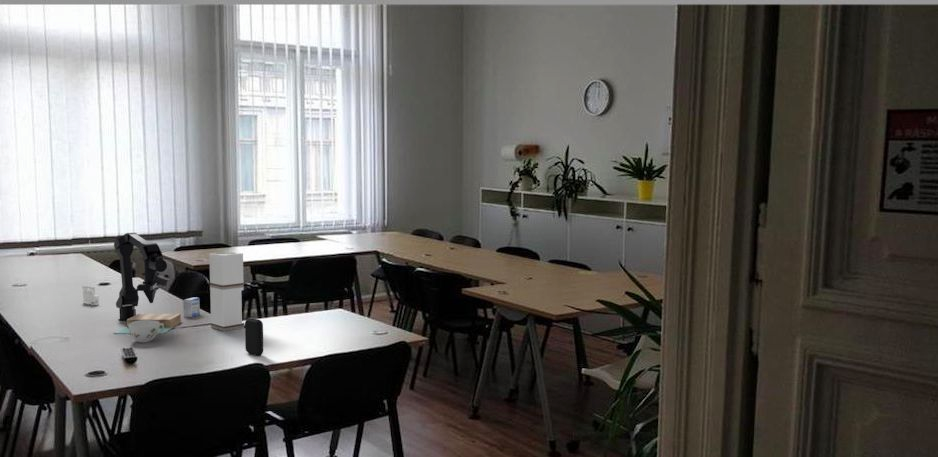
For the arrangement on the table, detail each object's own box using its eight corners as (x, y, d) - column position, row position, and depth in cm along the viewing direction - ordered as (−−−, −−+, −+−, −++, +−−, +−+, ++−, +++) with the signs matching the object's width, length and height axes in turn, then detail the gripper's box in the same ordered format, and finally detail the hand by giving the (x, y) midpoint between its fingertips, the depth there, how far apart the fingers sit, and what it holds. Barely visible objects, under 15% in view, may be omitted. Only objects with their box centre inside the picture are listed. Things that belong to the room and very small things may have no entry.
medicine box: (191, 317, 393) (191, 300, 393) (183, 316, 394) (182, 299, 393) (199, 314, 401) (199, 297, 400) (191, 313, 402) (191, 297, 401)
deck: (127, 328, 367) (126, 319, 367) (139, 321, 381) (138, 313, 381) (170, 328, 368) (170, 319, 367) (180, 322, 382) (180, 313, 381)
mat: (113, 333, 355) (113, 333, 355) (124, 328, 367) (124, 327, 367) (162, 333, 356) (162, 333, 356) (172, 328, 368) (172, 327, 368)
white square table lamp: (244, 327, 370) (242, 253, 367) (223, 331, 362) (222, 255, 359) (231, 324, 378) (230, 251, 375) (211, 327, 370) (209, 253, 367)
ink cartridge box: (87, 303, 430) (86, 285, 429) (99, 305, 424) (98, 287, 424) (82, 303, 428) (82, 285, 427) (94, 305, 422) (94, 287, 421)
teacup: (135, 345, 333) (134, 327, 332) (124, 340, 342) (123, 322, 341) (170, 340, 343) (169, 322, 343) (158, 335, 352) (158, 317, 352)
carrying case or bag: (242, 353, 322) (241, 317, 320) (248, 351, 324) (247, 316, 323) (259, 357, 315) (258, 320, 314) (265, 355, 318) (264, 319, 317)
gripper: (160, 272, 360) (161, 306, 361) (174, 267, 378) (175, 299, 380) (135, 272, 360) (136, 306, 361) (151, 267, 378) (152, 299, 380)
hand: (151, 303), depth 370 cm, fingers closed
